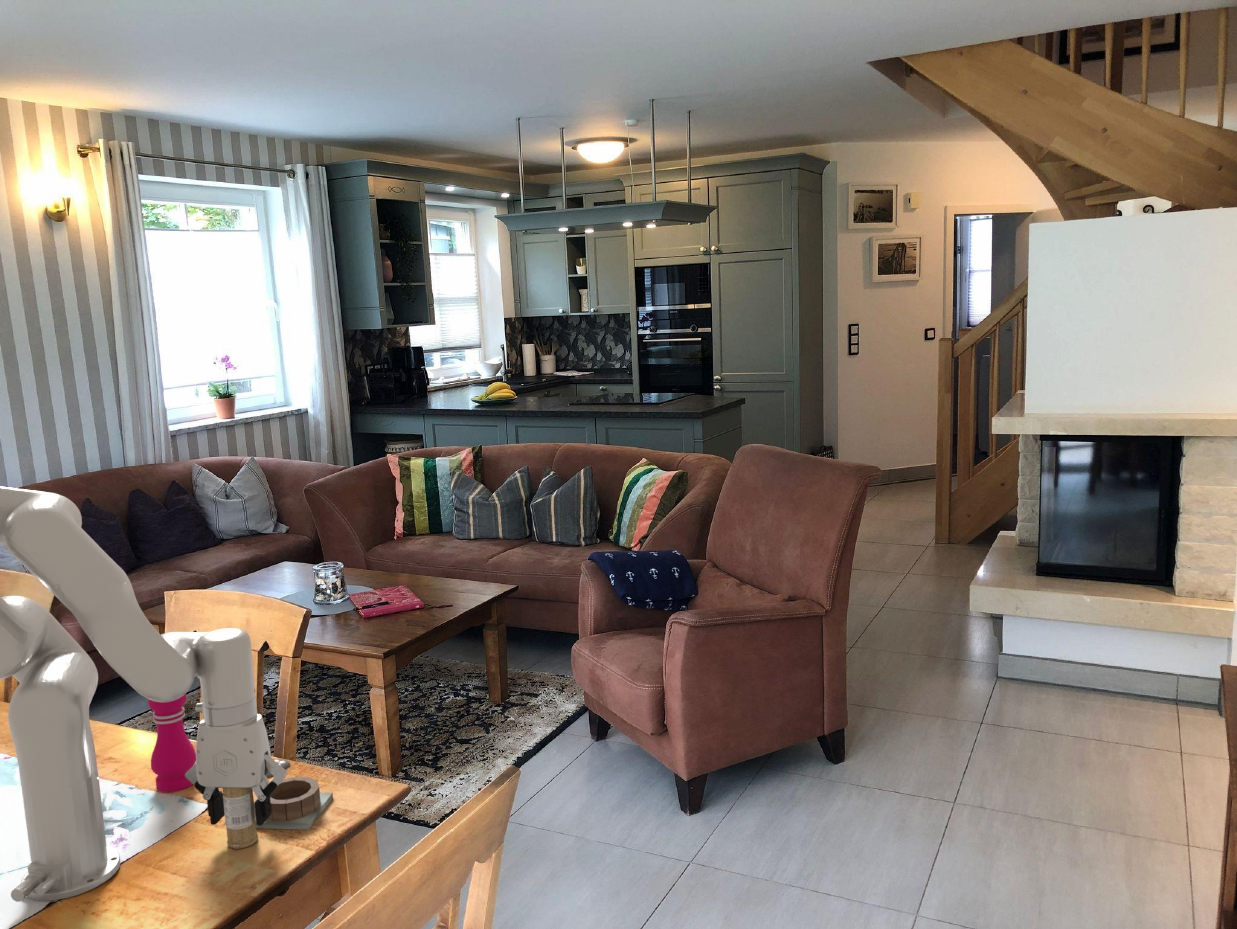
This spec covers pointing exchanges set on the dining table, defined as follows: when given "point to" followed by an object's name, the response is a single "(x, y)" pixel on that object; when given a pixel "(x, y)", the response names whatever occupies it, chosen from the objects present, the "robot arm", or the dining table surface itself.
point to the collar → (296, 804)
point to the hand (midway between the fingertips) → (240, 819)
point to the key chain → (282, 763)
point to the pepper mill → (171, 746)
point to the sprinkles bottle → (240, 817)
